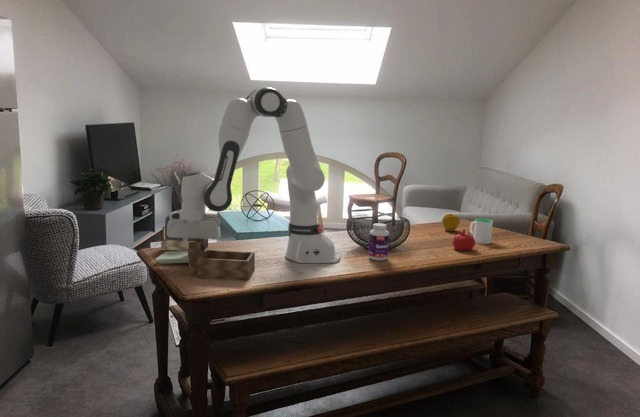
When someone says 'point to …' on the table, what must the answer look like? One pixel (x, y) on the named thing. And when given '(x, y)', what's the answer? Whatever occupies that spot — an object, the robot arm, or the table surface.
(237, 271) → the chest
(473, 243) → the pomegranate
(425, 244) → the table surface
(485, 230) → the mug
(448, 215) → the apple
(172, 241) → the bar
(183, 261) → the lid
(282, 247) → the table surface
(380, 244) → the pill bottle
